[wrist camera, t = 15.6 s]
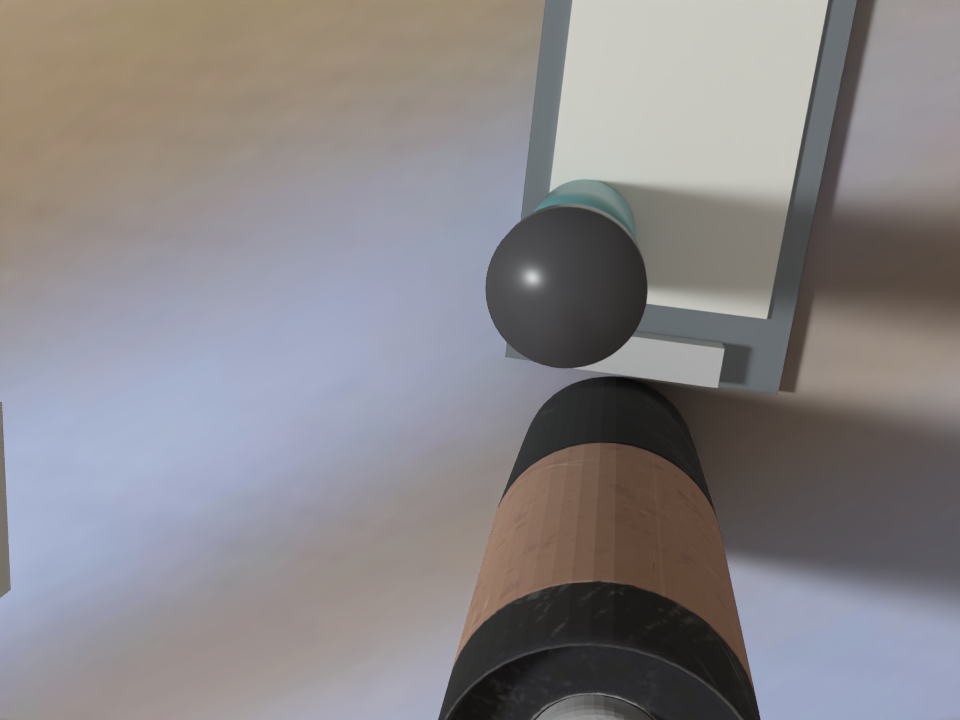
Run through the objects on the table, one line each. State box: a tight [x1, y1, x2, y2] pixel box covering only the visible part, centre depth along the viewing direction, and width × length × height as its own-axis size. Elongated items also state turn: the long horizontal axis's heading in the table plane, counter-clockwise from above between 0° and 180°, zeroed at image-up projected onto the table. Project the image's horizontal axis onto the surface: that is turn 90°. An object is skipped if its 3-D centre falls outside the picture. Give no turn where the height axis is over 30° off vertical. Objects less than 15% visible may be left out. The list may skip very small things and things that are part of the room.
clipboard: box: [505, 0, 857, 394], centre depth 34 cm, size 18×11×2 cm, turn 175°
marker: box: [486, 179, 648, 368], centre depth 30 cm, size 4×4×12 cm
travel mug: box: [438, 377, 760, 720], centre depth 29 cm, size 8×8×20 cm
